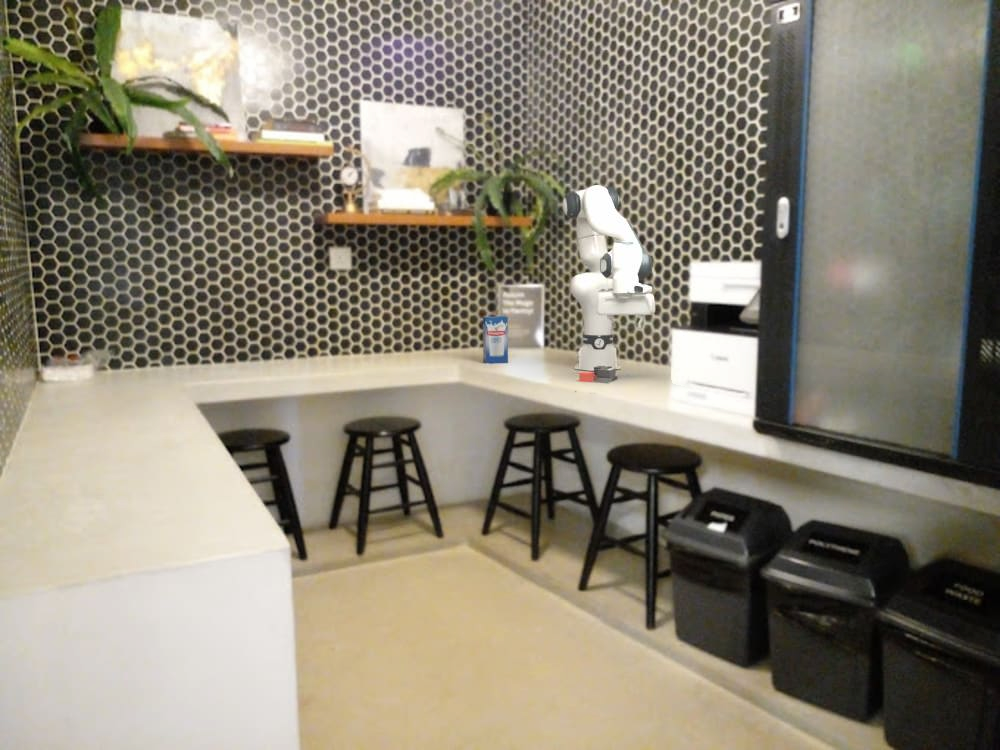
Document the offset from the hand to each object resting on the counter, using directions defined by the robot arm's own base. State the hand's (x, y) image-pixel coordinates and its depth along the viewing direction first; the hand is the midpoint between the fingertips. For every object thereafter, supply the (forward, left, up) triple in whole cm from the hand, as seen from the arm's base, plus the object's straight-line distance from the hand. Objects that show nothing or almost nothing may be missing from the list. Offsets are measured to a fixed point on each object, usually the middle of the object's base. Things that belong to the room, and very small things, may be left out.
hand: (625, 328), depth 260 cm
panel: (-7, -7, -20) cm, 22 cm away
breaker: (-3, -6, -18) cm, 20 cm away
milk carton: (-67, -47, -20) cm, 84 cm away
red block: (0, -13, -18) cm, 23 cm away
